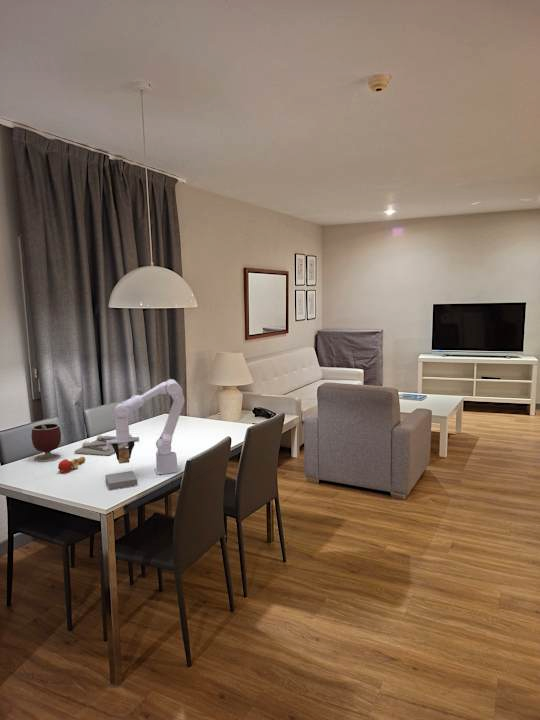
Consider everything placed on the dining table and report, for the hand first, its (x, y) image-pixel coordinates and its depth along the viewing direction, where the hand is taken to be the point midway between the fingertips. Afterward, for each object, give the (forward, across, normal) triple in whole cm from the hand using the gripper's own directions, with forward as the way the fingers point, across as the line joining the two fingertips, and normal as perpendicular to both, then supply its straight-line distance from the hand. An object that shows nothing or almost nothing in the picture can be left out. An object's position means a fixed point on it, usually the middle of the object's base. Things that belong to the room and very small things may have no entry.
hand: (123, 458), depth 232 cm
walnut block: (+2, 0, 0) cm, 2 cm away
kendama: (+9, +22, -23) cm, 33 cm away
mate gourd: (+9, +33, -43) cm, 55 cm away
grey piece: (+9, +2, -52) cm, 53 cm away
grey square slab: (+8, +3, +9) cm, 13 cm away
